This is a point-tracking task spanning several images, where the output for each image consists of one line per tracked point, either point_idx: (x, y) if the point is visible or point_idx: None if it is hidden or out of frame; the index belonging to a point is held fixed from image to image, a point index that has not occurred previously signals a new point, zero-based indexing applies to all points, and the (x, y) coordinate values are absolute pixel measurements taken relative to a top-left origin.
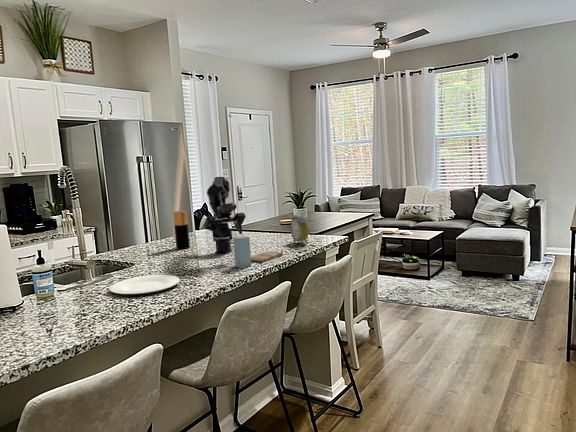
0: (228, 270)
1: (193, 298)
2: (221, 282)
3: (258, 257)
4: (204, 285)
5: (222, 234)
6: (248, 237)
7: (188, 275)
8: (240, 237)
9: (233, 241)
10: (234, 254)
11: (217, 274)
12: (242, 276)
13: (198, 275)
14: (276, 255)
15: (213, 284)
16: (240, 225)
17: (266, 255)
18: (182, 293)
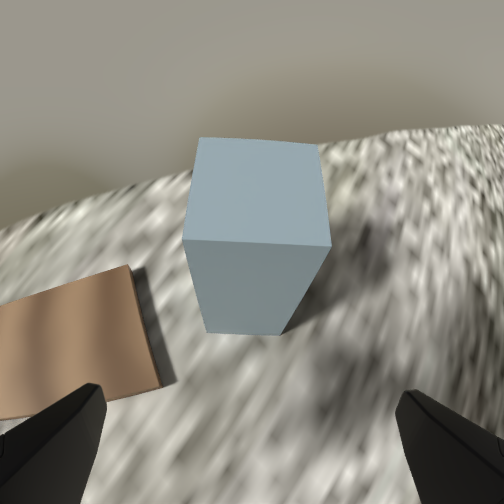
0: (351, 275)
1: (476, 126)
2: (417, 158)
3: (91, 342)
4: (461, 173)
5: (423, 399)
6: (209, 141)
7: (498, 327)
8: (278, 171)
9: (319, 268)
10: (293, 312)
11: (412, 250)
12: (339, 156)
13: (473, 297)
14: (11, 303)
15: (439, 161)
16: (5, 450)
17: (36, 342)
18: (500, 166)
